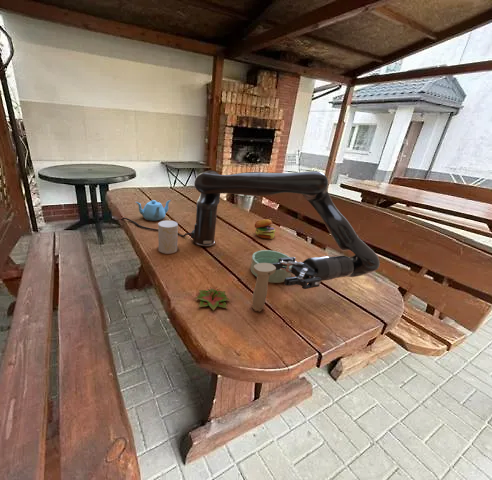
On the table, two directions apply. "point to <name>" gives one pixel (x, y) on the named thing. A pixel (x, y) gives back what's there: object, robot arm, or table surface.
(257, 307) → the handle
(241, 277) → the table surface
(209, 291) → the lily flower
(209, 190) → the robot arm
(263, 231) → the cheeseburger
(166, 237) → the white cylinder
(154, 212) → the teapot
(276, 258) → the pale green bowl
